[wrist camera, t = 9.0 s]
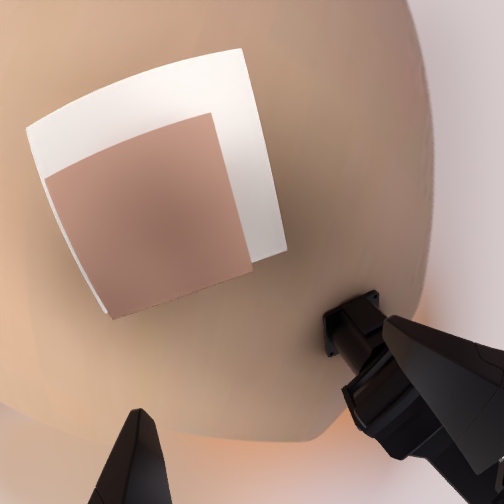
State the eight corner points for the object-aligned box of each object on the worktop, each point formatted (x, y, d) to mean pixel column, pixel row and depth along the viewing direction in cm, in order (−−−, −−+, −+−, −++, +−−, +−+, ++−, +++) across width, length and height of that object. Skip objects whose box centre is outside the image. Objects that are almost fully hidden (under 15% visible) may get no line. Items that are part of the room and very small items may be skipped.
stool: (193, 120, 15) (211, 112, 9) (222, 218, 18) (253, 270, 12) (91, 158, 14) (44, 179, 8) (128, 252, 17) (112, 319, 11)
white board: (279, 242, 21) (287, 250, 20) (108, 302, 19) (105, 313, 18) (235, 54, 15) (241, 48, 13) (35, 127, 13) (25, 128, 11)
